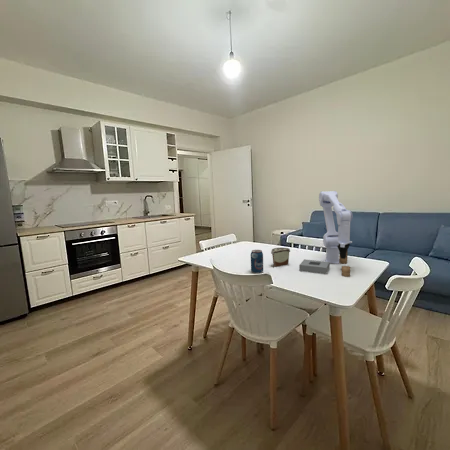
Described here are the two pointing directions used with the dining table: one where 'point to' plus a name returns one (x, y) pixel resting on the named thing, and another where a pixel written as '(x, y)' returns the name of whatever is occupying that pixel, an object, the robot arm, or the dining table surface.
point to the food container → (280, 256)
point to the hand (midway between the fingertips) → (343, 257)
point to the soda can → (256, 261)
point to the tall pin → (343, 261)
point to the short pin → (345, 271)
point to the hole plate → (314, 266)
